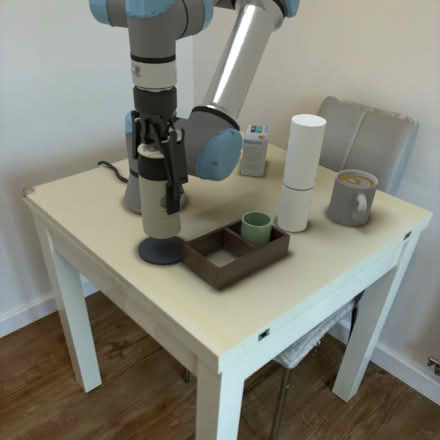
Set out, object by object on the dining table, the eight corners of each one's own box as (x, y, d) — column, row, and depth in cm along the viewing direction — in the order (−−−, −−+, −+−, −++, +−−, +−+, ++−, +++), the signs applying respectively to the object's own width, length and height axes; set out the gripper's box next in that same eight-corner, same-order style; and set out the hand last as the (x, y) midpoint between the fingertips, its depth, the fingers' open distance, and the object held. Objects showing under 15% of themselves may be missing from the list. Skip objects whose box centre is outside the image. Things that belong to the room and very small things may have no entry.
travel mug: (139, 223, 98) (131, 142, 86) (174, 217, 100) (171, 137, 89) (149, 243, 92) (142, 158, 81) (186, 236, 95) (184, 153, 83)
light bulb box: (243, 159, 137) (246, 123, 130) (266, 161, 137) (269, 125, 130) (240, 175, 129) (242, 137, 122) (263, 177, 129) (267, 140, 122)
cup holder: (182, 263, 96) (181, 243, 93) (251, 231, 107) (253, 213, 104) (217, 291, 90) (218, 271, 87) (287, 254, 100) (290, 235, 97)
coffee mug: (327, 203, 118) (334, 167, 112) (365, 207, 118) (375, 171, 111) (328, 230, 108) (337, 193, 102) (371, 235, 107) (382, 197, 101)
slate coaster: (128, 247, 100) (128, 245, 100) (169, 231, 106) (169, 228, 105) (157, 271, 94) (157, 269, 93) (198, 252, 100) (198, 250, 99)
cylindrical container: (309, 219, 112) (328, 117, 96) (303, 234, 107) (323, 128, 91) (281, 214, 114) (295, 112, 97) (274, 228, 108) (288, 123, 92)
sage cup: (233, 248, 101) (235, 217, 96) (254, 238, 105) (257, 208, 99) (253, 262, 98) (256, 230, 92) (274, 251, 101) (278, 220, 96)
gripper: (104, 74, 81) (118, 189, 96) (173, 106, 70) (176, 232, 85) (139, 68, 85) (147, 180, 100) (210, 97, 74) (207, 219, 88)
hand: (161, 203), depth 92 cm, fingers closed on travel mug, 8 cm apart
